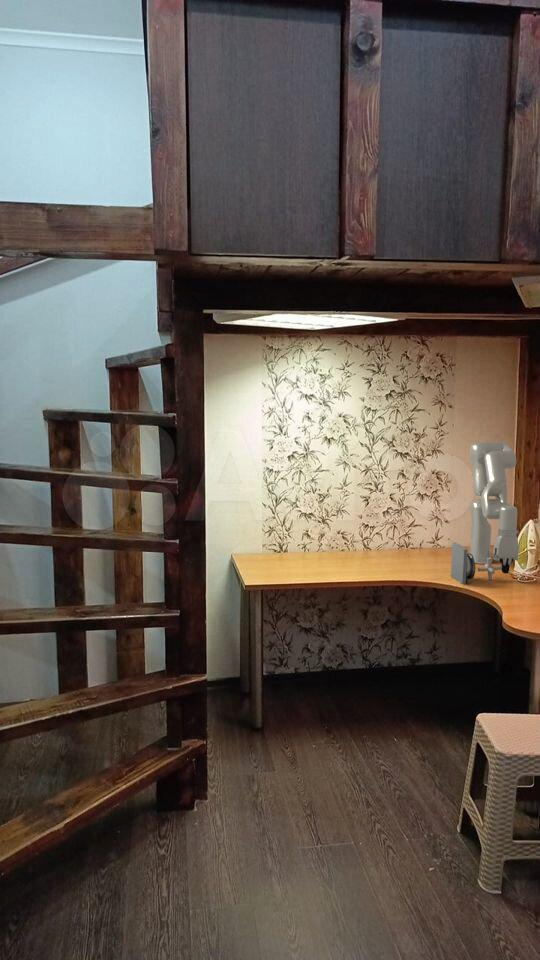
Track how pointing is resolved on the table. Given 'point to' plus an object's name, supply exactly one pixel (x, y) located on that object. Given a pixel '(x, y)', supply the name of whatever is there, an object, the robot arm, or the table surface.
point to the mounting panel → (459, 563)
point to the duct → (470, 566)
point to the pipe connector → (489, 568)
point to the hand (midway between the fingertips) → (505, 572)
